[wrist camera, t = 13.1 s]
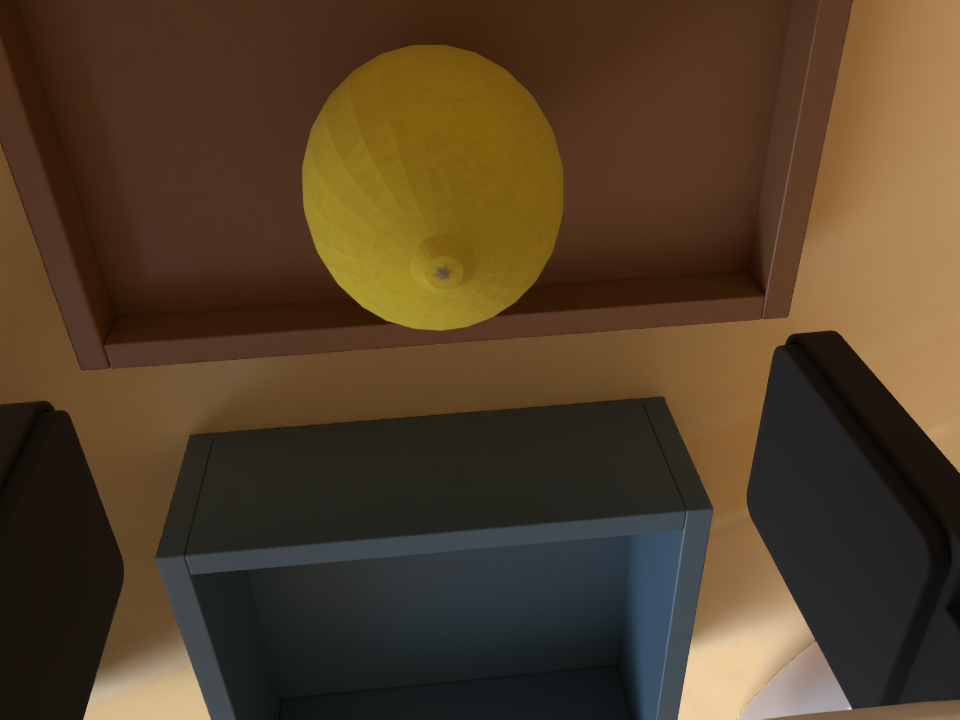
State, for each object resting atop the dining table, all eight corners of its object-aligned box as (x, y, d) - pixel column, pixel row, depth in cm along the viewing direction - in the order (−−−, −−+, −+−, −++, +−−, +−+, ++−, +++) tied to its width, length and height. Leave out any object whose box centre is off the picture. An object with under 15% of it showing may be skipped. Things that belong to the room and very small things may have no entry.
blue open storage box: (265, 705, 36) (249, 833, 32) (189, 435, 28) (154, 558, 24) (632, 668, 37) (666, 788, 33) (664, 396, 29) (714, 508, 25)
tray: (104, 323, 25) (80, 372, 23) (-42, -130, 19) (-94, -117, 17) (757, 275, 27) (788, 318, 25) (834, -166, 20) (886, -158, 18)
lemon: (498, -27, 20) (554, 74, 14) (557, 184, 23) (625, 350, 17) (276, 51, 21) (227, 186, 14) (362, 248, 24) (356, 433, 17)
